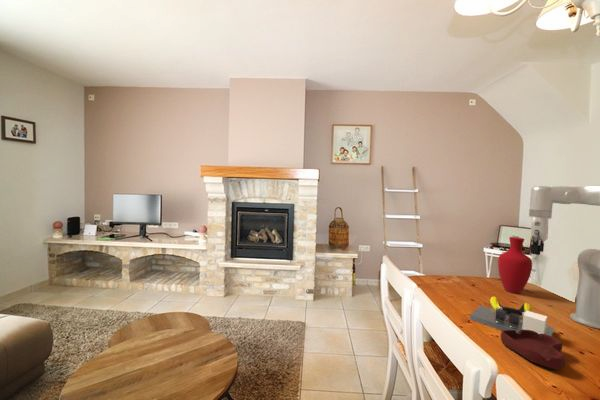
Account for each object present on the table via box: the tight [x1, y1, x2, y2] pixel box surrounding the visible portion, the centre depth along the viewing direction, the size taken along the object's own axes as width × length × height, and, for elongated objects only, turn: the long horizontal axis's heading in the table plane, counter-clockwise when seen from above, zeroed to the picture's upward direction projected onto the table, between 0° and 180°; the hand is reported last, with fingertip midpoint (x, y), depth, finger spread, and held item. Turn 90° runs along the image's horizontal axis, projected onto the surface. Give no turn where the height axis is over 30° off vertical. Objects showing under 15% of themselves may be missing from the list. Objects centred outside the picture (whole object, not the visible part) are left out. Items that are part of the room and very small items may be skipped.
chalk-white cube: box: [522, 311, 548, 334], centre depth 105 cm, size 6×6×6 cm
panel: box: [469, 305, 555, 337], centre depth 112 cm, size 25×15×6 cm, turn 42°
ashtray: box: [500, 330, 566, 371], centre depth 93 cm, size 18×16×5 cm
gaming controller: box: [489, 296, 533, 318], centre depth 122 cm, size 15×6×10 cm
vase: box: [497, 236, 533, 295], centre depth 150 cm, size 15×15×30 cm
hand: (536, 252), depth 121 cm, fingers open, 9 cm apart
